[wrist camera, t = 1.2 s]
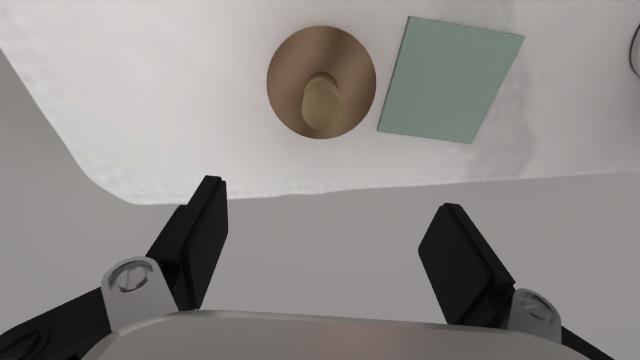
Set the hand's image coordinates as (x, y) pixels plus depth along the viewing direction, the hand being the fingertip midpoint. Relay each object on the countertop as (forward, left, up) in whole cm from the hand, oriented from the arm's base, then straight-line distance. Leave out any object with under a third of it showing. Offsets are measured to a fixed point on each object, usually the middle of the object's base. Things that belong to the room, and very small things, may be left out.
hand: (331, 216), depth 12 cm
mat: (-16, -1, -27) cm, 31 cm away
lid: (0, 0, -22) cm, 22 cm away
